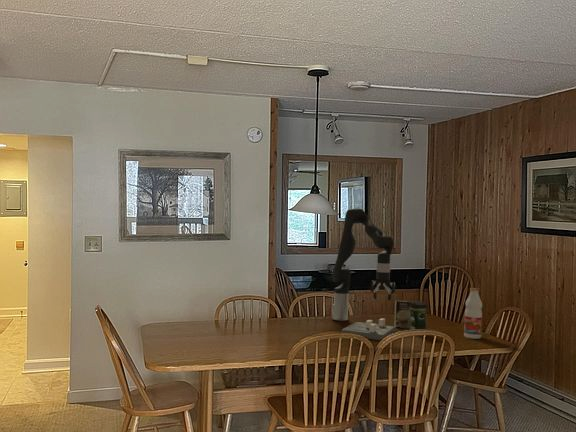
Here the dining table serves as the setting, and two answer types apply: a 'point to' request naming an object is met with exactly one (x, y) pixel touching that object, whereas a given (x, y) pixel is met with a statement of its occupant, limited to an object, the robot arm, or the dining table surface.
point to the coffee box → (402, 313)
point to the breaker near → (372, 327)
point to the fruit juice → (473, 315)
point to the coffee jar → (417, 315)
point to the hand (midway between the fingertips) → (382, 299)
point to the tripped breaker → (368, 323)
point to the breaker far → (381, 322)
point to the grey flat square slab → (362, 330)
